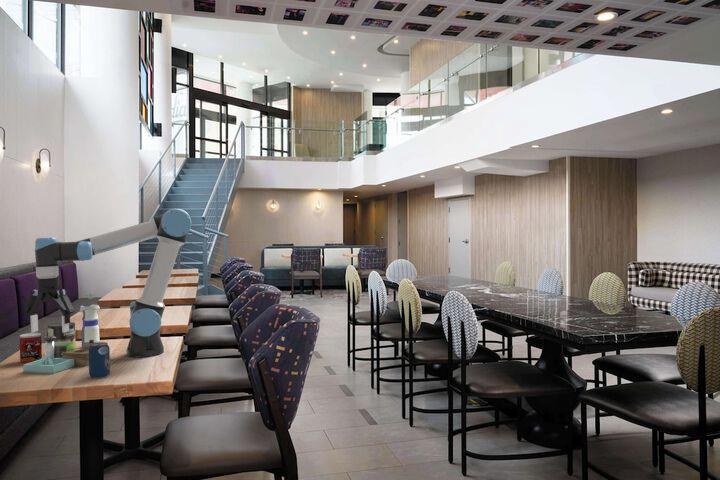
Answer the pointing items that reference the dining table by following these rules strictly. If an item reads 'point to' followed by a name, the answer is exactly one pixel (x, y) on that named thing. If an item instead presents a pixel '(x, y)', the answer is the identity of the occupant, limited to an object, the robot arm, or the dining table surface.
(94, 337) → the water bottle
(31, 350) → the canned food
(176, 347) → the dining table surface
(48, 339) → the pin
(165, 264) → the robot arm
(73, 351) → the block
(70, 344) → the coffee can
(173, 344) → the dining table surface
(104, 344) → the soda can
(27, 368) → the tray
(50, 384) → the dining table surface
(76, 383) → the dining table surface
